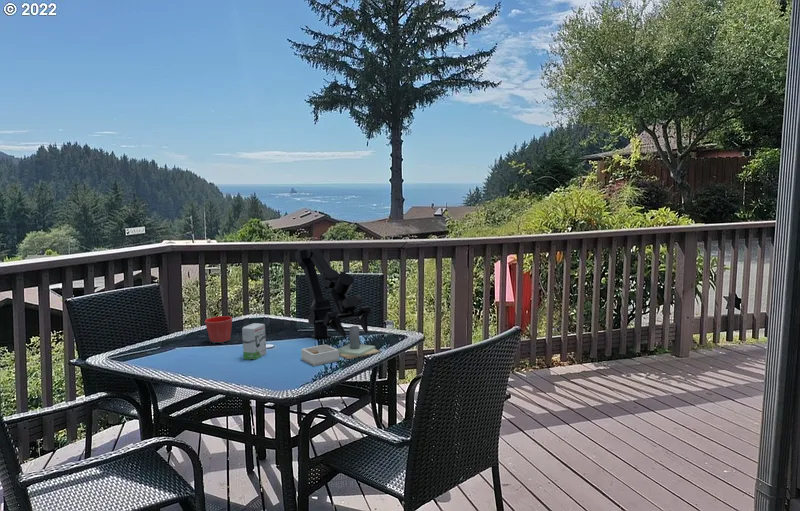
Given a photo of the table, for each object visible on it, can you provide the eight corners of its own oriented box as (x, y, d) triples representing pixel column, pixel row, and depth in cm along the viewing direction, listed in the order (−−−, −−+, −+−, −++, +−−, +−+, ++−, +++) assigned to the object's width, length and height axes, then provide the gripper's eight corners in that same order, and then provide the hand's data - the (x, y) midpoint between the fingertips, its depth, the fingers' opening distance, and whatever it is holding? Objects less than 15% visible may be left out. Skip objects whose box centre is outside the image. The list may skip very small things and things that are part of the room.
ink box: (254, 360, 215) (252, 328, 213) (242, 359, 216) (241, 328, 215) (267, 353, 223) (265, 323, 221) (255, 352, 224) (253, 322, 223)
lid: (334, 352, 219) (333, 329, 218) (351, 345, 229) (350, 322, 228) (359, 356, 214) (358, 332, 213) (375, 348, 223) (374, 325, 222)
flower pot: (200, 344, 239) (199, 320, 238) (218, 337, 249) (216, 315, 248) (221, 346, 235) (220, 322, 234) (239, 339, 245) (237, 316, 244)
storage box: (301, 359, 214) (301, 348, 213) (326, 354, 219) (326, 344, 219) (313, 366, 205) (313, 355, 205) (339, 360, 211) (338, 350, 210)
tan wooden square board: (330, 351, 223) (329, 349, 223) (361, 345, 231) (361, 343, 231) (347, 359, 212) (347, 358, 212) (380, 352, 219) (380, 351, 219)
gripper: (325, 291, 217) (340, 326, 209) (369, 285, 227) (385, 318, 219) (316, 309, 224) (331, 343, 216) (359, 302, 234) (374, 335, 226)
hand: (356, 334), depth 219 cm, fingers open, 9 cm apart
